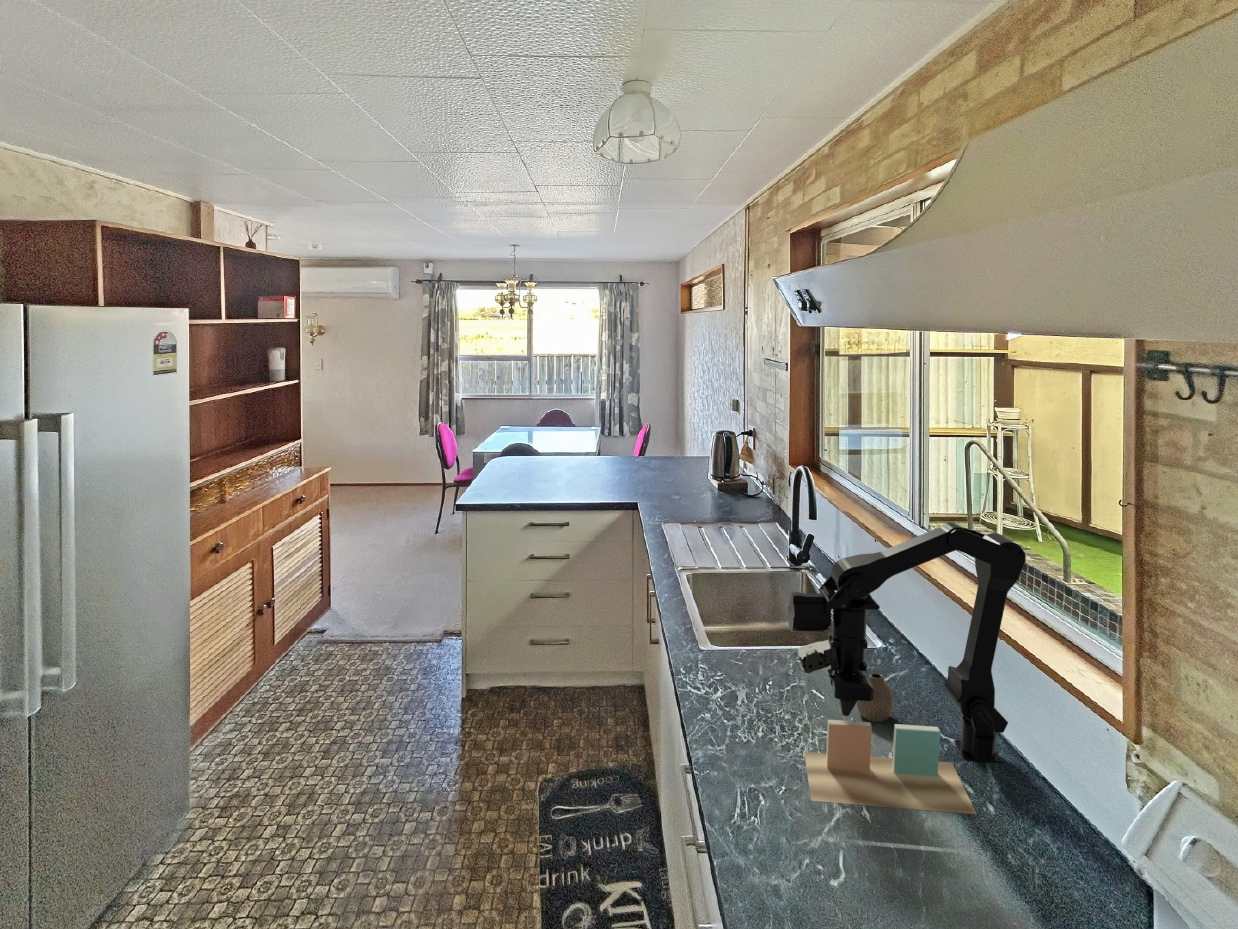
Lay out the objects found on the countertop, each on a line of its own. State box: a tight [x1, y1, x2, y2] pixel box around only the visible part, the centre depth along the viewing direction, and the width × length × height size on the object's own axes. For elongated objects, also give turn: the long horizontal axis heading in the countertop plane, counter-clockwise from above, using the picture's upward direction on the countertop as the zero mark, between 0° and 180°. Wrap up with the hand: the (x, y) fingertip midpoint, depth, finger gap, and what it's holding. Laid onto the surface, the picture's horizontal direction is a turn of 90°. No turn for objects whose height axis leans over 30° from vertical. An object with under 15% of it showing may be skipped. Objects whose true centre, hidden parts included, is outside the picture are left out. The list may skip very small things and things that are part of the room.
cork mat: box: [803, 751, 977, 815], centre depth 132 cm, size 15×25×1 cm, turn 81°
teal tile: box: [892, 723, 941, 776], centre depth 134 cm, size 2×7×8 cm, turn 81°
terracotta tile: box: [825, 719, 873, 771], centre depth 135 cm, size 2×7×8 cm, turn 81°
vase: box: [856, 672, 895, 723], centre depth 153 cm, size 7×7×9 cm
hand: (845, 715), depth 141 cm, fingers closed
